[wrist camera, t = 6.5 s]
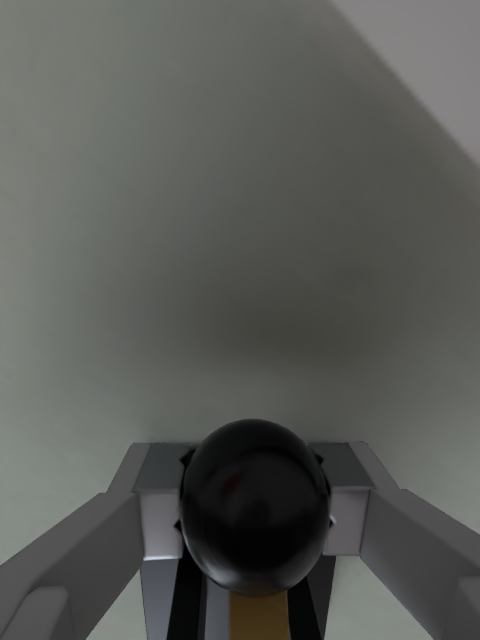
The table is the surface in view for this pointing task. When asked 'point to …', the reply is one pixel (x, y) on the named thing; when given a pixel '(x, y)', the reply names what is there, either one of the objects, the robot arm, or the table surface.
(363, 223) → the table surface
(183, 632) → the bracket
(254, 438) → the lever
